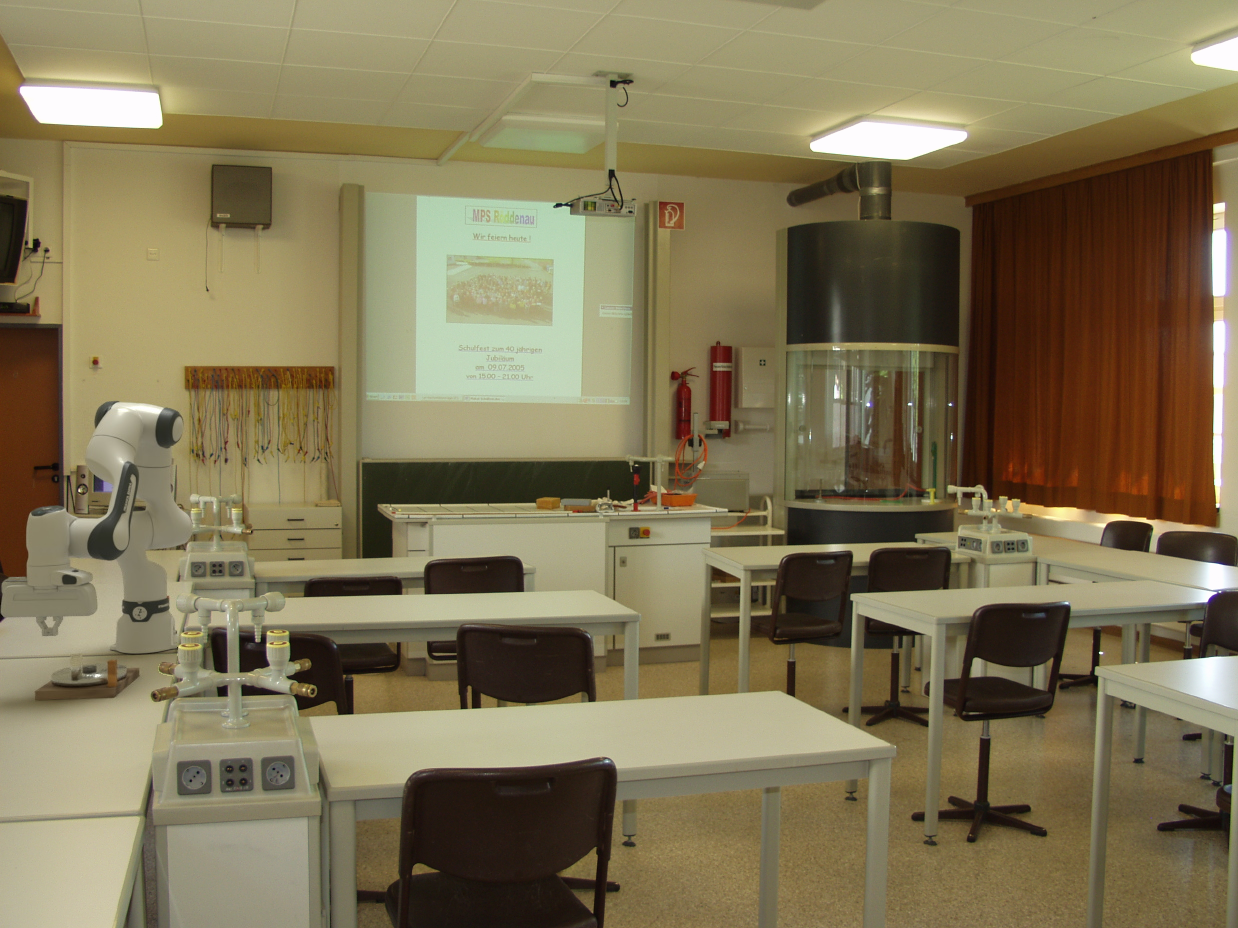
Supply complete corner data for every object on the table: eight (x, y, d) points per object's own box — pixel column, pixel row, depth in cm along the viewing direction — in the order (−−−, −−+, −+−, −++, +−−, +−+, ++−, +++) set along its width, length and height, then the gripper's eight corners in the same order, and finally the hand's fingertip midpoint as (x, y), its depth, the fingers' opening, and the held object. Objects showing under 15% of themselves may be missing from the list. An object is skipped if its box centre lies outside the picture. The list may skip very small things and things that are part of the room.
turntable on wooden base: (66, 677, 251) (66, 645, 251) (139, 675, 254) (139, 644, 254) (35, 699, 232) (34, 665, 231) (114, 697, 235) (114, 663, 234)
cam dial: (70, 669, 250) (69, 641, 250) (136, 669, 252) (136, 640, 251) (38, 687, 234) (38, 656, 234) (110, 686, 235) (109, 655, 235)
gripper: (-6, 579, 230) (-5, 639, 230) (88, 577, 232) (89, 637, 232) (8, 575, 236) (9, 633, 237) (99, 573, 238) (100, 631, 239)
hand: (50, 635), depth 235 cm, fingers closed
